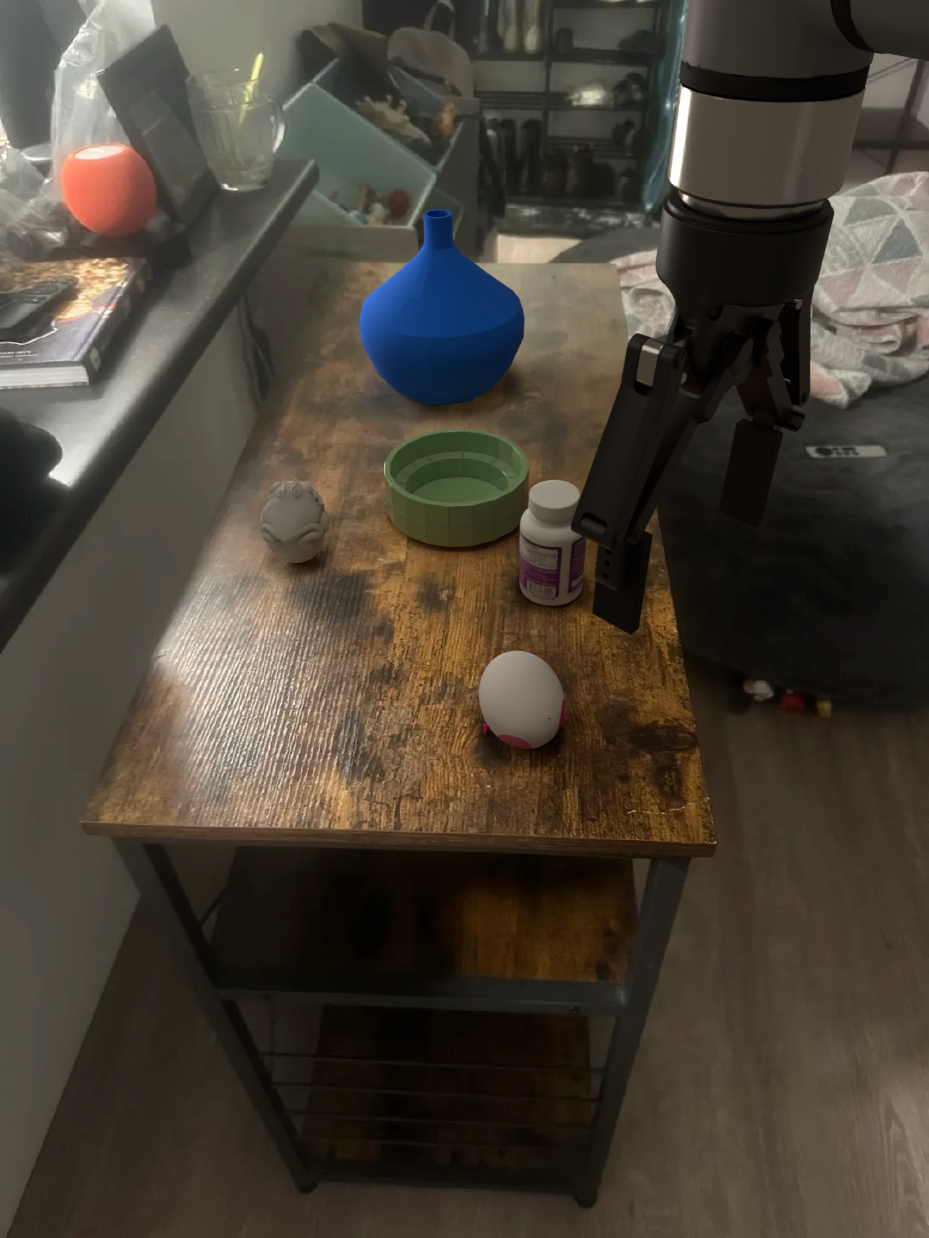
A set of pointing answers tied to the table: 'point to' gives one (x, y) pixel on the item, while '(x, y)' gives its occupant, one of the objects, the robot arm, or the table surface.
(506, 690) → the stress ball
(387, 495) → the green bowl
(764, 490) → the robot arm
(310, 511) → the frog figurine
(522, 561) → the pill bottle
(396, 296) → the vase
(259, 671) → the table surface
